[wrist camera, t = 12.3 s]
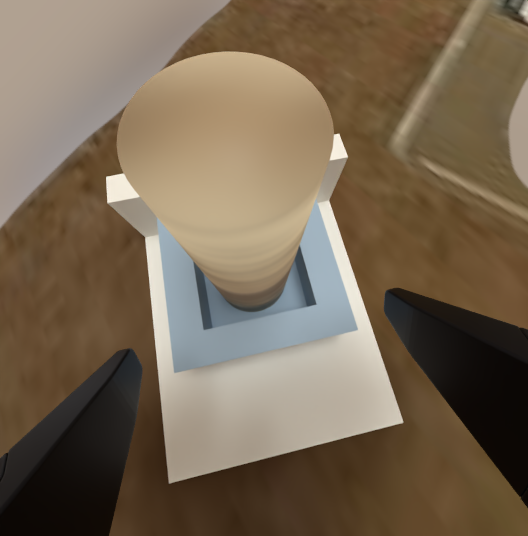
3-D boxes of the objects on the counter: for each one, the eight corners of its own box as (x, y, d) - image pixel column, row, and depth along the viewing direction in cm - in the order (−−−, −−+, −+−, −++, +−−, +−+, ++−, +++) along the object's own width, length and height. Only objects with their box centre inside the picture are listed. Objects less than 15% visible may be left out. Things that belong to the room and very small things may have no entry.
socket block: (339, 333, 19) (358, 330, 15) (192, 367, 19) (174, 373, 15) (301, 205, 22) (309, 176, 18) (174, 230, 22) (155, 206, 18)
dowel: (291, 305, 19) (360, 204, 5) (223, 317, 19) (119, 245, 5) (278, 242, 20) (305, 40, 7) (214, 253, 20) (114, 65, 7)
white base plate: (399, 420, 18) (461, 454, 12) (172, 478, 17) (125, 545, 11) (321, 185, 24) (338, 133, 18) (146, 219, 23) (106, 176, 17)
